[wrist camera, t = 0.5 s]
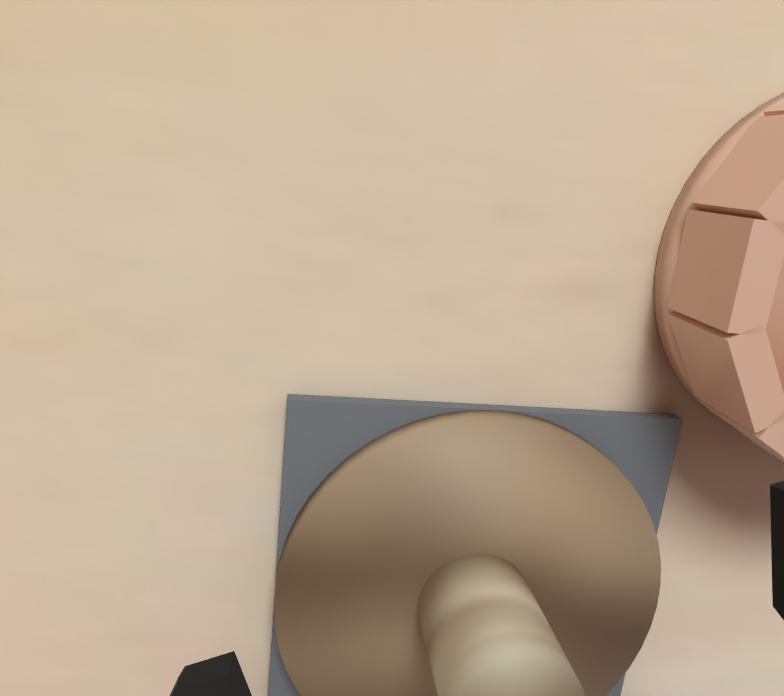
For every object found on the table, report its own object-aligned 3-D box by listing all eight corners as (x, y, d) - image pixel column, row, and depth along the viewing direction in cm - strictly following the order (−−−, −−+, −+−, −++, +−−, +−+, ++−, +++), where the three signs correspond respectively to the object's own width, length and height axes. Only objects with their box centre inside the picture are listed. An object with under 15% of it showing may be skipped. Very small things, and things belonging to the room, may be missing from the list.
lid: (610, 737, 22) (690, 889, 18) (264, 745, 21) (254, 915, 16) (681, 419, 19) (799, 501, 15) (287, 398, 18) (283, 484, 13)
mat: (605, 727, 23) (610, 737, 22) (265, 734, 21) (264, 746, 21) (674, 414, 20) (682, 419, 19) (287, 394, 18) (287, 399, 18)
